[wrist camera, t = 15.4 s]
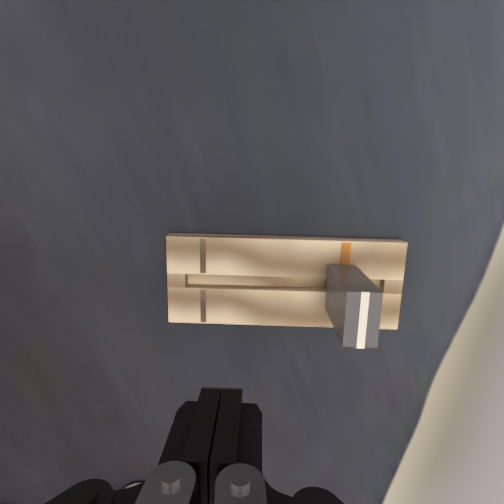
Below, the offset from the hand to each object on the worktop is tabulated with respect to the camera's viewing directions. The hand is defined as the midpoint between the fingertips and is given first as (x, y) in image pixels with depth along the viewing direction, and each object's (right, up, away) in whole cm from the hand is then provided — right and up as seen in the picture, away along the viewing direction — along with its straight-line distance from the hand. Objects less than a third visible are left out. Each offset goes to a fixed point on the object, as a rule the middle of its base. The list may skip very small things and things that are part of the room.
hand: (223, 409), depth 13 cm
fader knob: (+11, +2, +29) cm, 31 cm away
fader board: (+5, +3, +29) cm, 29 cm away
